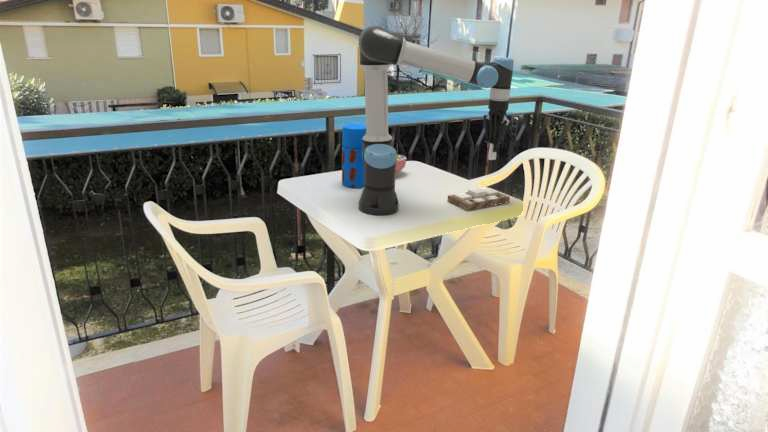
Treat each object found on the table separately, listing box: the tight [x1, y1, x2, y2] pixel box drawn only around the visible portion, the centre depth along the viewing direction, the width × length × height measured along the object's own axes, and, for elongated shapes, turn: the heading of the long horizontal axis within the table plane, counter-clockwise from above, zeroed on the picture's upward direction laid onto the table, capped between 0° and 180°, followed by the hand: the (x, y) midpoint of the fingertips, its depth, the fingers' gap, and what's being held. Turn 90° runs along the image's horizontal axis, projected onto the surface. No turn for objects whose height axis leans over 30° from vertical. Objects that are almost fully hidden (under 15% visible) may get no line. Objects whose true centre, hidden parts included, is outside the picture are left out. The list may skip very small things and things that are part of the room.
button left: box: [453, 192, 472, 201], centre depth 208 cm, size 5×5×2 cm
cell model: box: [396, 153, 407, 174], centre depth 241 cm, size 17×20×11 cm
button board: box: [446, 191, 511, 212], centre depth 211 cm, size 22×12×3 cm, turn 122°
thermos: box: [341, 123, 366, 189], centre depth 222 cm, size 11×11×25 cm
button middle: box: [467, 187, 486, 198], centre depth 211 cm, size 5×5×2 cm
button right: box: [482, 187, 500, 196], centre depth 215 cm, size 5×5×2 cm
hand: (491, 159), depth 210 cm, fingers closed
